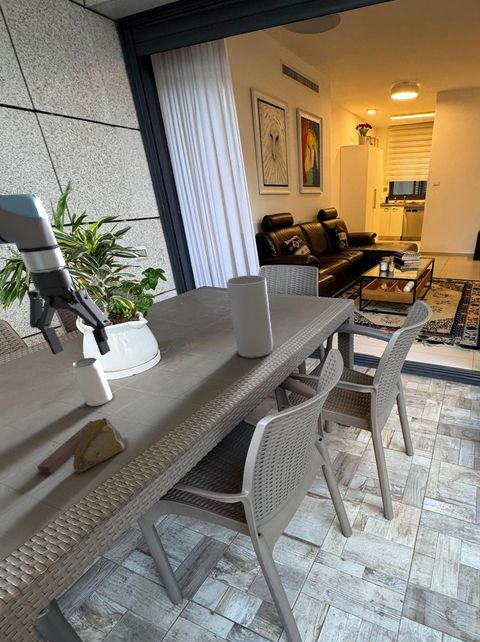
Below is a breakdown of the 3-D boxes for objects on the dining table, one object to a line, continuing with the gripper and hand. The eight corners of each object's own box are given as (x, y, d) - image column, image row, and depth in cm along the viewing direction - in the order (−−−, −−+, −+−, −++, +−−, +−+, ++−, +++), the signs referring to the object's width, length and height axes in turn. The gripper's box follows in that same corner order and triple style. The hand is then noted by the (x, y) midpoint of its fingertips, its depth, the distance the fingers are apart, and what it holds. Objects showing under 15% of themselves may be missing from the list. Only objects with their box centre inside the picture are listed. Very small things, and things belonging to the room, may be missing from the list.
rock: (66, 476, 69) (120, 454, 72) (50, 436, 69) (104, 416, 73) (86, 472, 79) (132, 452, 83) (71, 437, 80) (118, 419, 83)
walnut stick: (51, 474, 73) (47, 467, 72) (40, 473, 73) (36, 466, 73) (102, 427, 87) (99, 421, 86) (92, 427, 87) (90, 420, 86)
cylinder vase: (230, 355, 122) (217, 282, 110) (251, 342, 132) (242, 274, 120) (260, 361, 117) (250, 286, 105) (279, 346, 127) (273, 276, 115)
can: (98, 393, 102) (83, 356, 96) (118, 395, 101) (104, 357, 95) (81, 405, 96) (64, 366, 91) (101, 407, 95) (85, 368, 89)
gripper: (107, 264, 83) (134, 347, 93) (14, 266, 86) (50, 346, 96) (85, 271, 76) (116, 359, 87) (-15, 273, 79) (27, 358, 90)
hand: (81, 352), depth 91 cm, fingers open, 13 cm apart
